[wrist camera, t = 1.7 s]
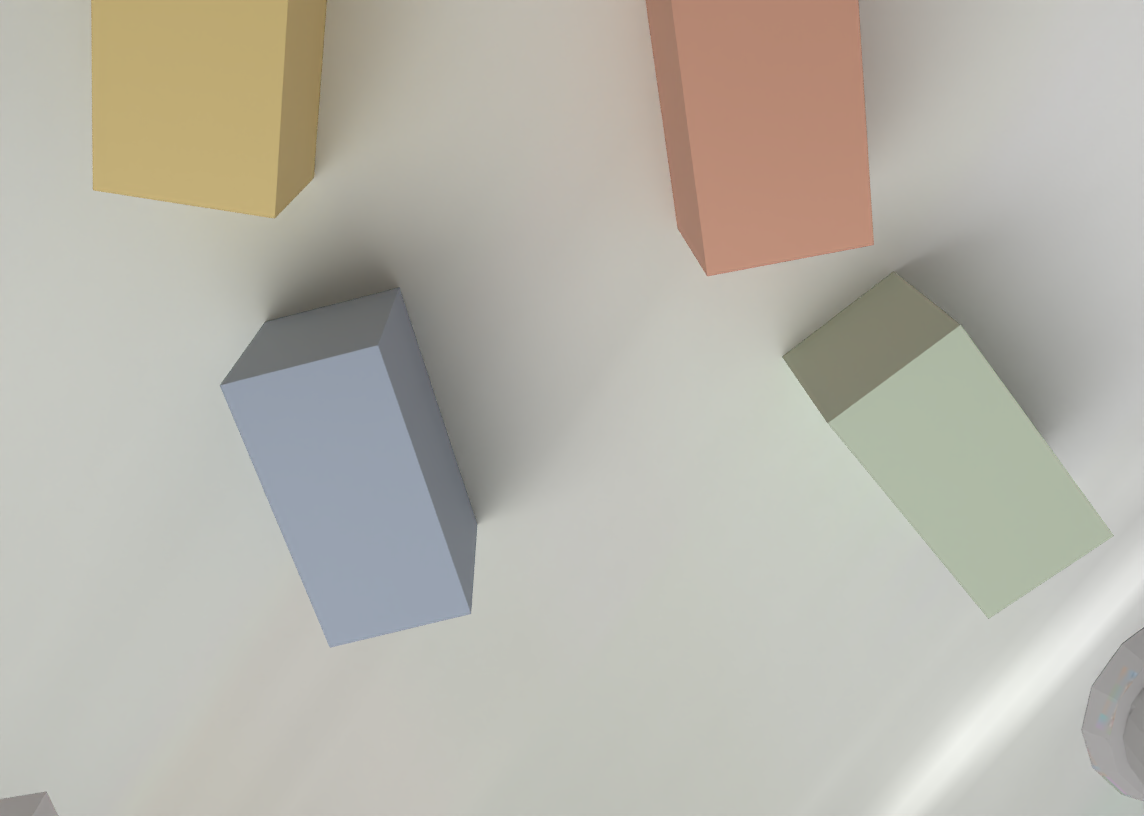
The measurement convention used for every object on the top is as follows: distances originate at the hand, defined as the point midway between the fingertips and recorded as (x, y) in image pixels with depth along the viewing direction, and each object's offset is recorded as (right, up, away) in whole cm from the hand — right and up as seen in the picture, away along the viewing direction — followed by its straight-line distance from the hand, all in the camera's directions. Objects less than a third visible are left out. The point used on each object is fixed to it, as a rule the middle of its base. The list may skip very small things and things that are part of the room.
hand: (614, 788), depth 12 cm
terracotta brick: (+4, +14, +15) cm, 21 cm away
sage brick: (+10, +5, +19) cm, 22 cm away
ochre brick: (-9, +15, +14) cm, 22 cm away
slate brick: (-6, +4, +19) cm, 20 cm away
